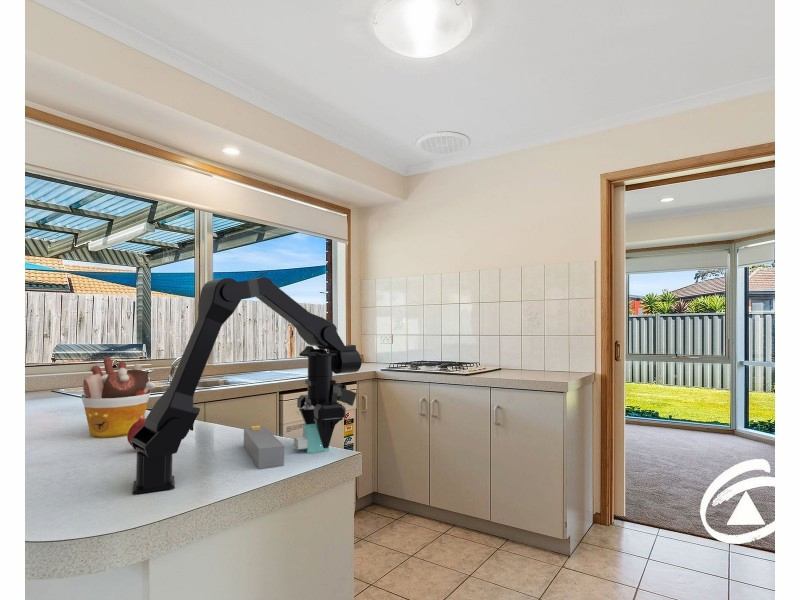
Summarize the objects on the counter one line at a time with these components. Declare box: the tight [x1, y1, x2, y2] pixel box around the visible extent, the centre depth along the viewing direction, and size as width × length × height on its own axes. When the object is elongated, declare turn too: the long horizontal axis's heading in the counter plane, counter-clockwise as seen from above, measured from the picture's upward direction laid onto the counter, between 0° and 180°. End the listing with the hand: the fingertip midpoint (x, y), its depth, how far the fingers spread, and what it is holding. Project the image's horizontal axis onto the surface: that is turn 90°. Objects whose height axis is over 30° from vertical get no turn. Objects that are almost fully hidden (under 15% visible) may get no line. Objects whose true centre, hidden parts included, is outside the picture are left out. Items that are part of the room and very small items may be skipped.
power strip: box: [243, 425, 285, 470], centre depth 106 cm, size 24×5×5 cm, turn 27°
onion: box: [126, 415, 146, 448], centre depth 108 cm, size 6×6×8 cm
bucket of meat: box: [81, 356, 157, 439], centre depth 127 cm, size 20×16×20 cm
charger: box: [293, 424, 330, 454], centre depth 108 cm, size 4×7×6 cm, turn 117°
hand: (319, 443), depth 109 cm, fingers open, 9 cm apart
